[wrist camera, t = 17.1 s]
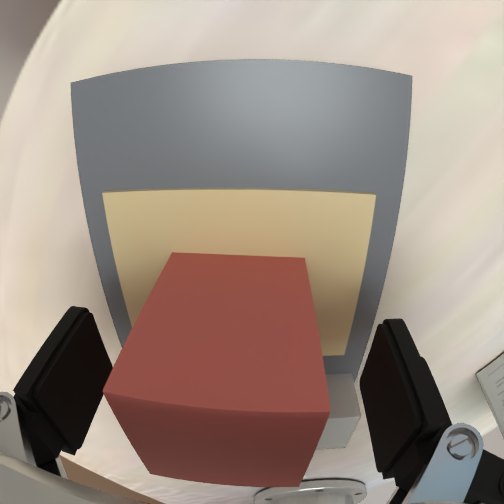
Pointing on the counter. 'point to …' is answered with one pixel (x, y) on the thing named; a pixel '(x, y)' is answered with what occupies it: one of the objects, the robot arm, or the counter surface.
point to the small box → (494, 389)
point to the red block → (224, 372)
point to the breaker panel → (250, 186)
